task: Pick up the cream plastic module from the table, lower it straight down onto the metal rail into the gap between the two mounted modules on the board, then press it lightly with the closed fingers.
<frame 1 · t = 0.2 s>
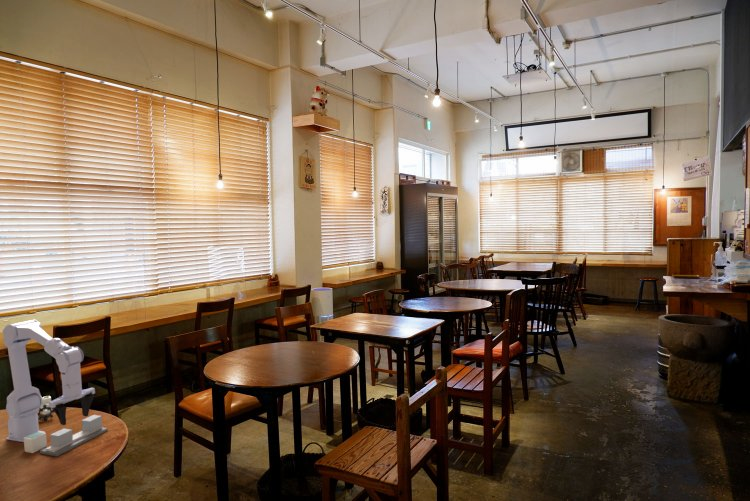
hand: (74, 419, 165), 10 cm above the table, tool pointing down, fingers open, 7 cm apart
valve: (46, 416, 194), on the table
cream module: (36, 449, 165), on the table
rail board: (75, 441, 169), on the table
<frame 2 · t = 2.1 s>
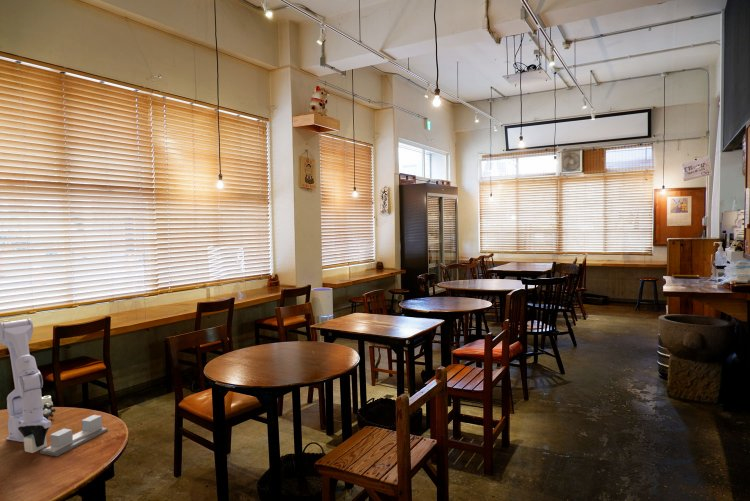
hand: (35, 444, 165), 1 cm above the table, tool pointing down, fingers closed on cream module, 4 cm apart
cream module: (35, 448, 165), on the table, touching gripper
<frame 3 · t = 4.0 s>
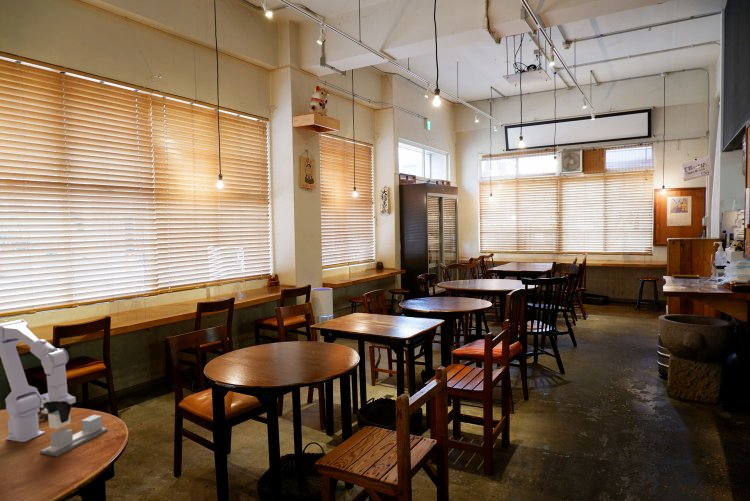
hand: (60, 420, 167), 9 cm above the table, tool pointing down, fingers closed on cream module, 4 cm apart
cream module: (60, 425, 167), point 7 cm above the table, touching gripper
when the fingers open (4 cm above the table, at t = 5.7 s): cream module stays where it is, resting on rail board.
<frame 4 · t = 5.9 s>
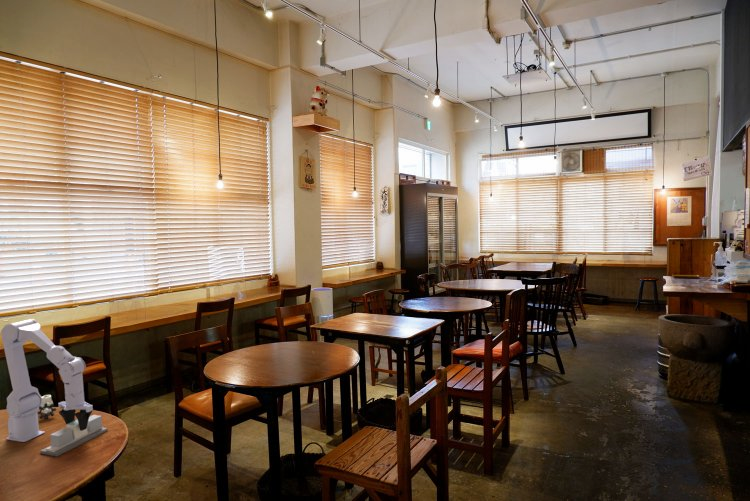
hand: (77, 428, 170), 4 cm above the table, tool pointing down, fingers open, 6 cm apart
cream module: (77, 435, 170), point 2 cm above the table, touching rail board
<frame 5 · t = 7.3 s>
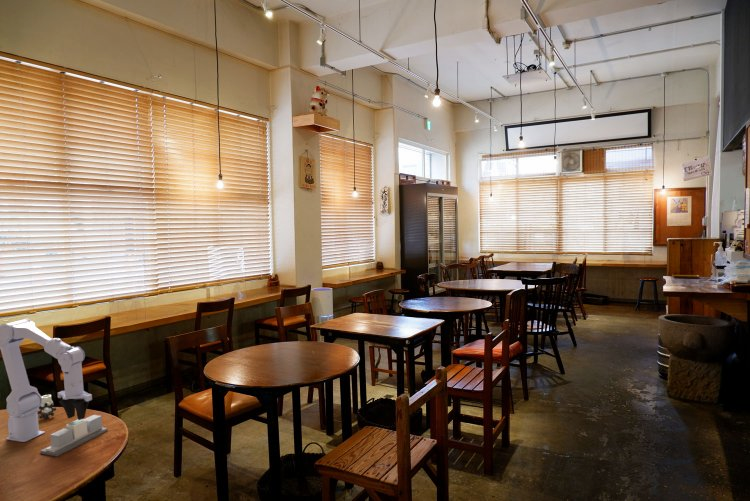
hand: (76, 418, 170), 8 cm above the table, tool pointing down, fingers open, 4 cm apart
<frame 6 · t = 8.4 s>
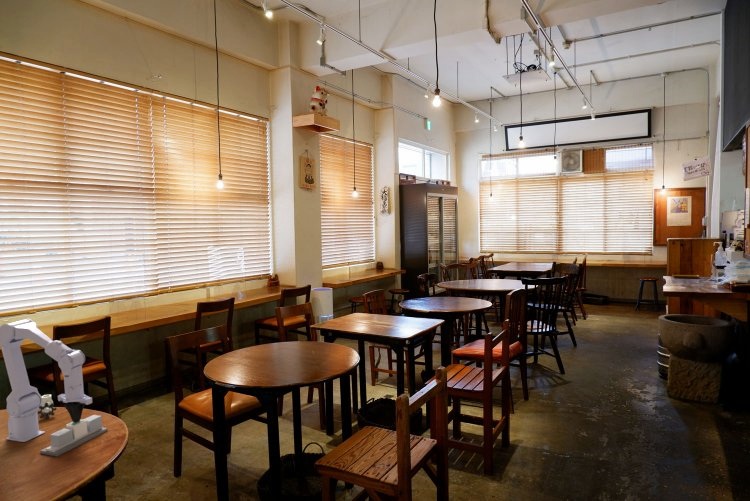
hand: (76, 421, 170), 7 cm above the table, tool pointing down, fingers closed
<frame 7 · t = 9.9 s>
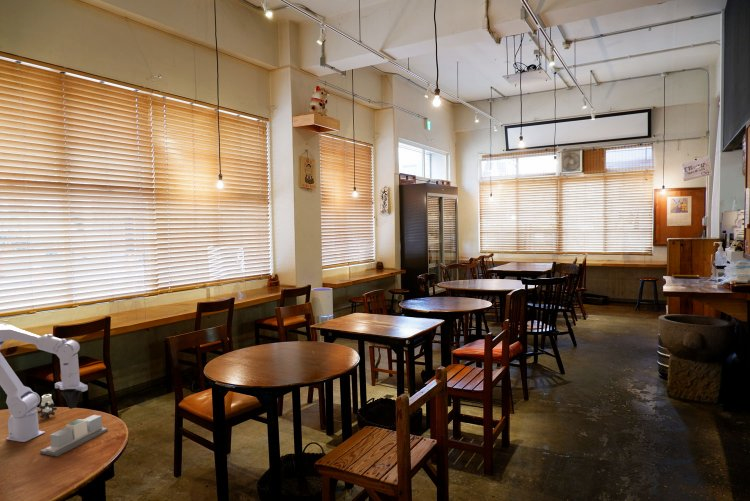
hand: (72, 407, 177), 9 cm above the table, tool pointing down, fingers closed
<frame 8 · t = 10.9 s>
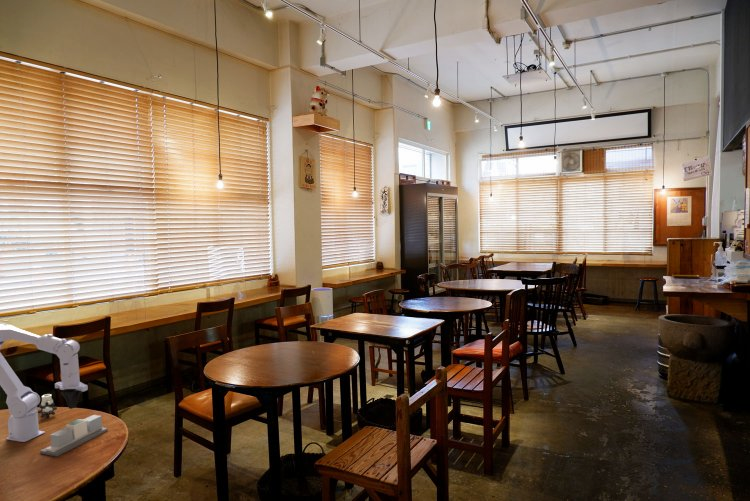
hand: (72, 407, 177), 9 cm above the table, tool pointing down, fingers closed
at the end: cream module 0.2 cm from the target spot on the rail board, point 1.8 cm above the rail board's base; cream module tilted 0°; the gripper is holding nothing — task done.
